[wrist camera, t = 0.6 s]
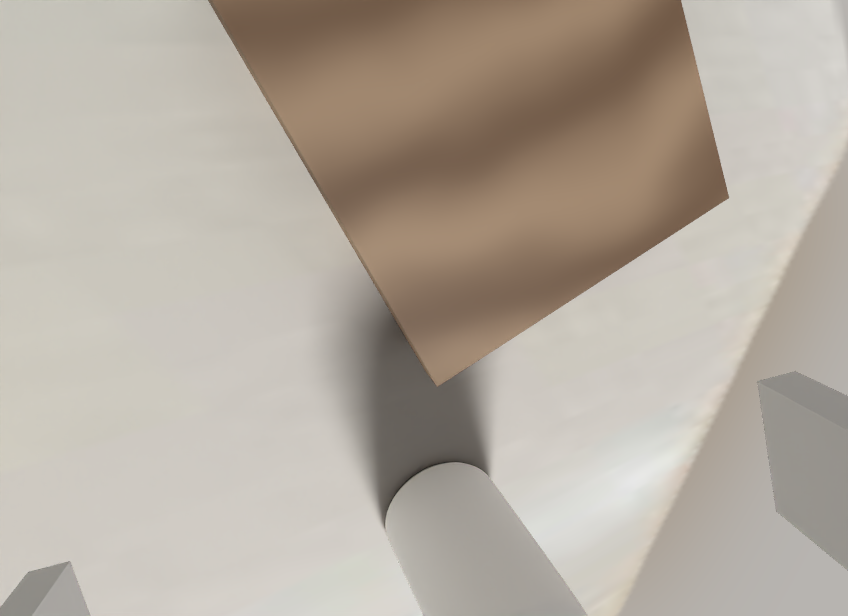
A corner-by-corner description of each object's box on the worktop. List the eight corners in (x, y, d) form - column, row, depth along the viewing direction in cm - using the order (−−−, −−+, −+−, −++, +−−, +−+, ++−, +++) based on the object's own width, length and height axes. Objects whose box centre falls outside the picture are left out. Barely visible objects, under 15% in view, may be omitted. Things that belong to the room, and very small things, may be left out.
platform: (194, -15, 27) (205, -11, 23) (560, -222, 28) (620, -246, 25) (407, 346, 36) (437, 386, 33) (673, 176, 38) (729, 197, 34)
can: (513, 484, 42) (638, 650, 32) (442, 569, 43) (543, 757, 33) (434, 438, 39) (546, 608, 29) (358, 531, 40) (441, 728, 30)
